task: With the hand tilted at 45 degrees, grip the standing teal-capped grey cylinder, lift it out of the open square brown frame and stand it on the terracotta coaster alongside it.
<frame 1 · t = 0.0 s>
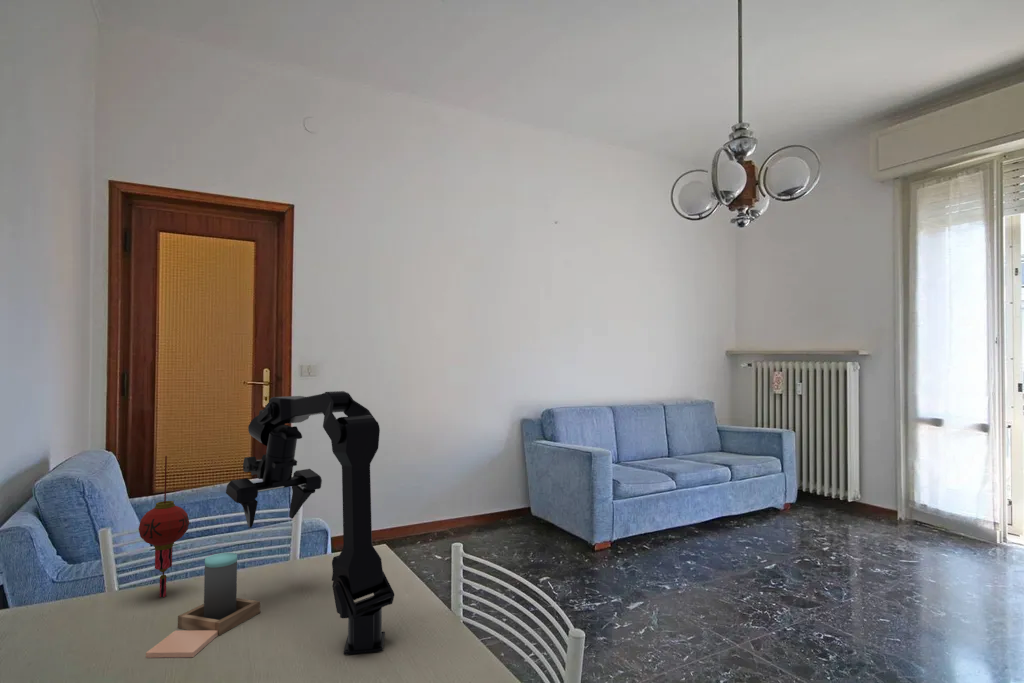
hand: (271, 522, 121), 15 cm above the table, tool pointing down, fingers open, 9 cm apart
coaster: (183, 645, 98), on the table
teal-capped grey cylinder: (220, 588, 108), in the open square brown frame
lantern: (162, 597, 120), on the table
open square brown frame: (220, 620, 108), on the table
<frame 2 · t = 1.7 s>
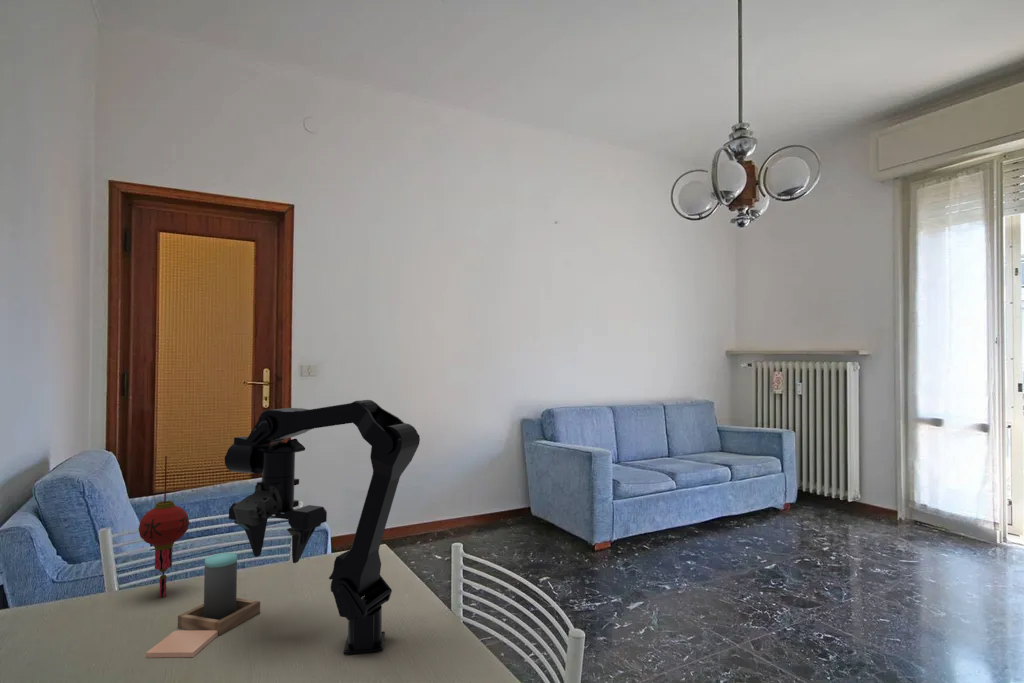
hand: (276, 559, 104), 13 cm above the table, tool pointing down, fingers open, 9 cm apart
nothing on the table moved.
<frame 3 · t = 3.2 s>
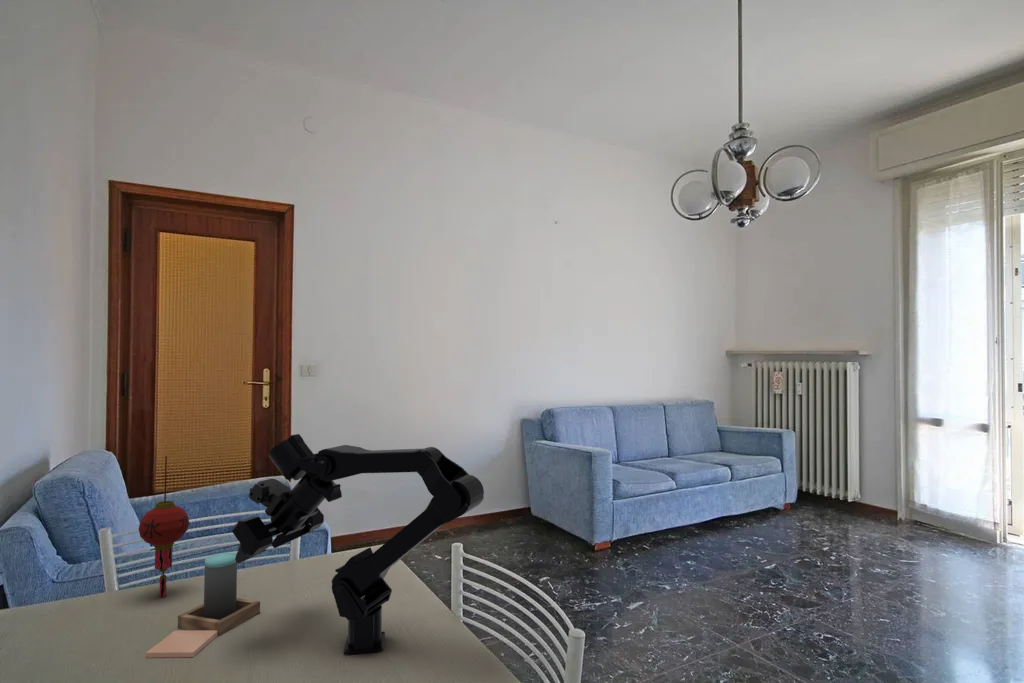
hand: (256, 553, 106), 13 cm above the table, tool tilted 45°, fingers open, 9 cm apart
nothing on the table moved.
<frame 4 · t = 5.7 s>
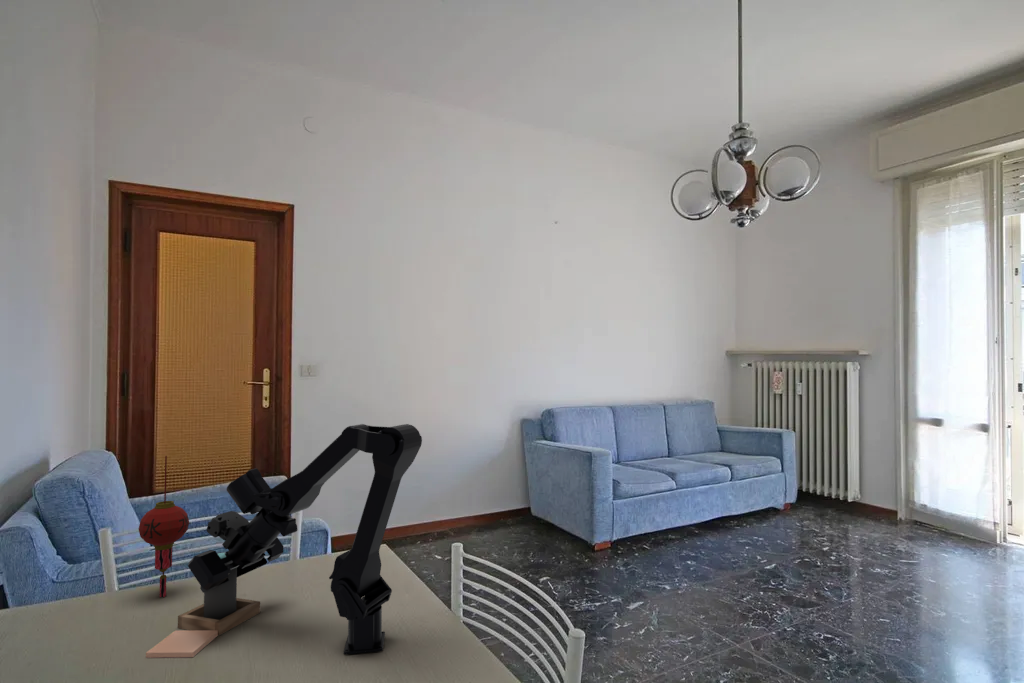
hand: (215, 584, 109), 7 cm above the table, tool tilted 45°, fingers closed on teal-capped grey cylinder, 6 cm apart
teal-capped grey cylinder: (220, 588, 108), in the open square brown frame, touching gripper
everything else where it was.
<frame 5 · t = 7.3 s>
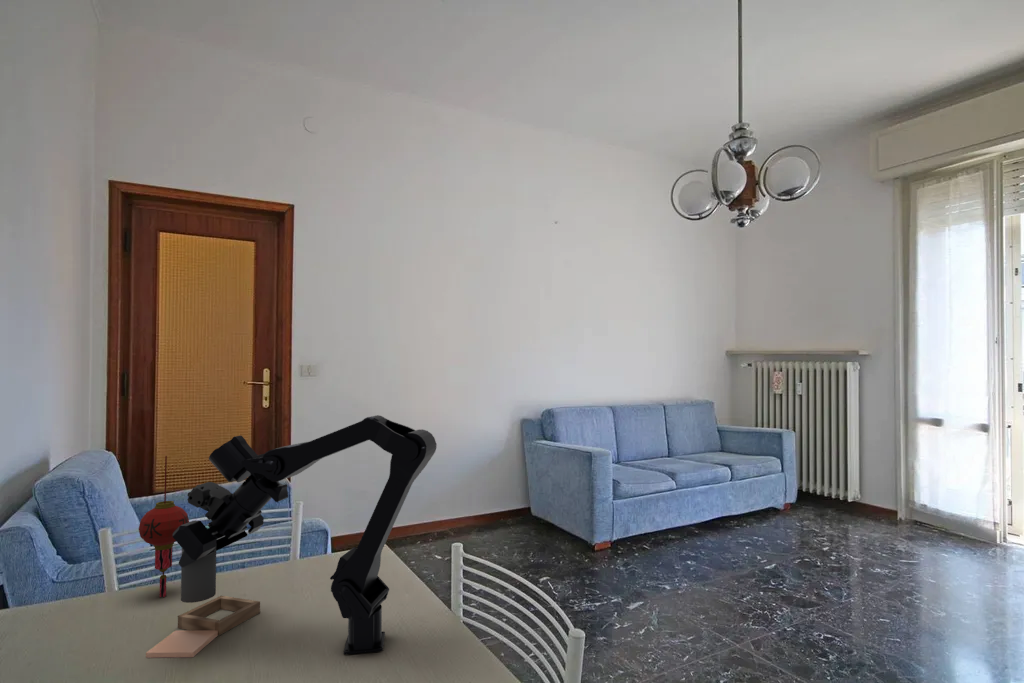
hand: (192, 559, 103), 13 cm above the table, tool tilted 45°, fingers closed on teal-capped grey cylinder, 6 cm apart
teal-capped grey cylinder: (199, 563, 103), point 13 cm above the table, touching gripper
everything else where it was.
when the fingers open (8 cm above the table, at t = 9.0 s): teal-capped grey cylinder stays where it is, resting on coaster.
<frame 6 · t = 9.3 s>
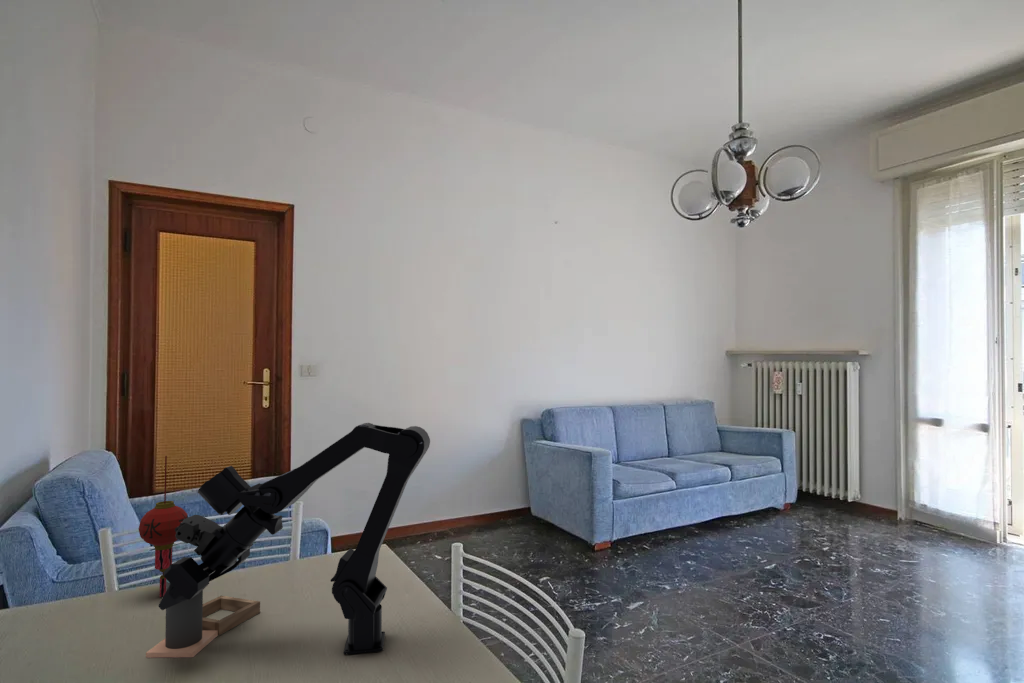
hand: (176, 597, 98), 8 cm above the table, tool tilted 45°, fingers open, 9 cm apart
teal-capped grey cylinder: (184, 606, 98), on the coaster, point 7 cm above the table
everything else where it was.
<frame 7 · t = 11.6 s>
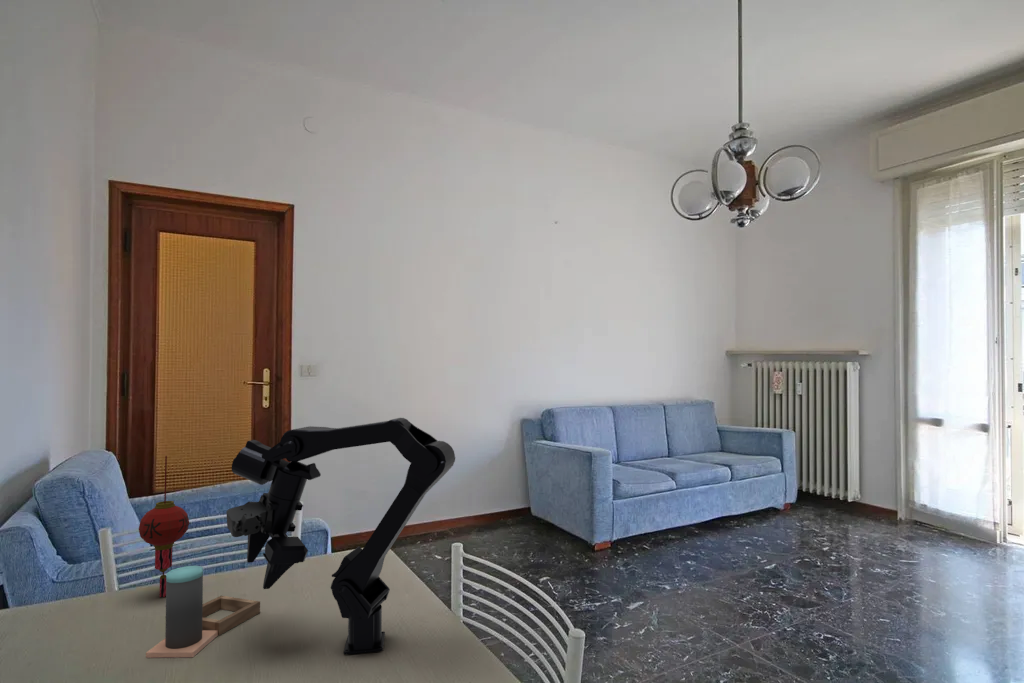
hand: (257, 574, 101), 11 cm above the table, tool tilted 20°, fingers open, 9 cm apart
nothing on the table moved.
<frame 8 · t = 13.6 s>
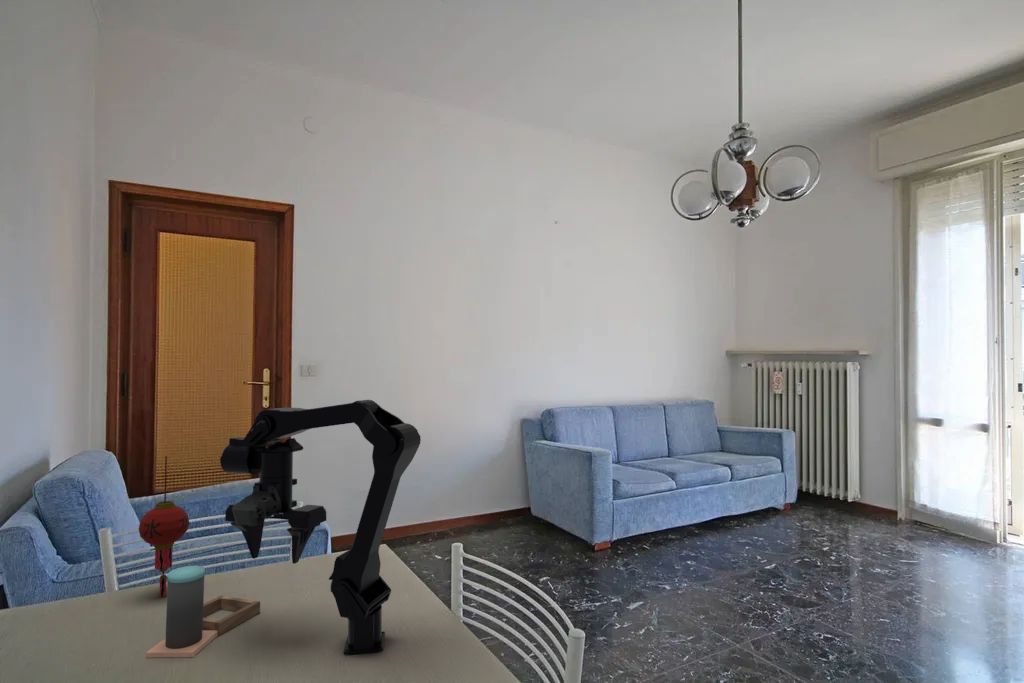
hand: (274, 560, 103), 13 cm above the table, tool pointing down, fingers open, 9 cm apart
nothing on the table moved.
at the end: teal-capped grey cylinder inside the target area on the coaster (0.1 cm from its centre), point 6.8 cm above the coaster's base; teal-capped grey cylinder tilted 1°; the gripper is holding nothing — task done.
